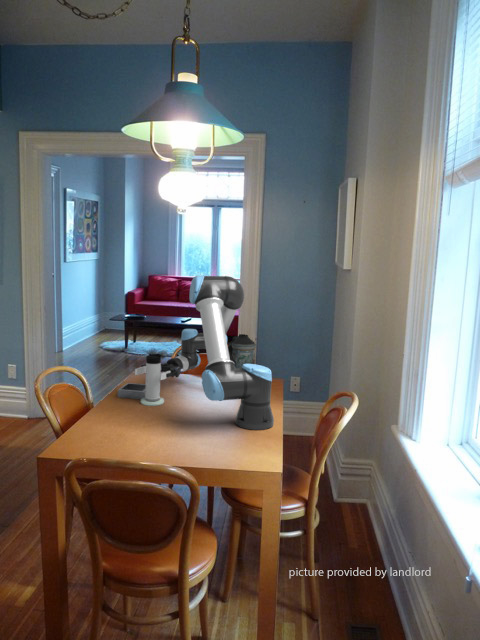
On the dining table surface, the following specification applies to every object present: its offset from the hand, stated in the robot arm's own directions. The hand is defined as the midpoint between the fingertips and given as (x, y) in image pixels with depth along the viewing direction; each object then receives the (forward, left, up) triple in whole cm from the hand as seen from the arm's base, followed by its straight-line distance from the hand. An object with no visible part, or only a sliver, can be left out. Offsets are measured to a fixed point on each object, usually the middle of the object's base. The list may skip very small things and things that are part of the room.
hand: (148, 374), depth 214 cm
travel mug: (+3, -1, -12) cm, 13 cm away
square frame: (+12, +10, -13) cm, 20 cm away
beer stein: (+46, -34, -13) cm, 59 cm away
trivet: (+3, -1, -13) cm, 14 cm away
